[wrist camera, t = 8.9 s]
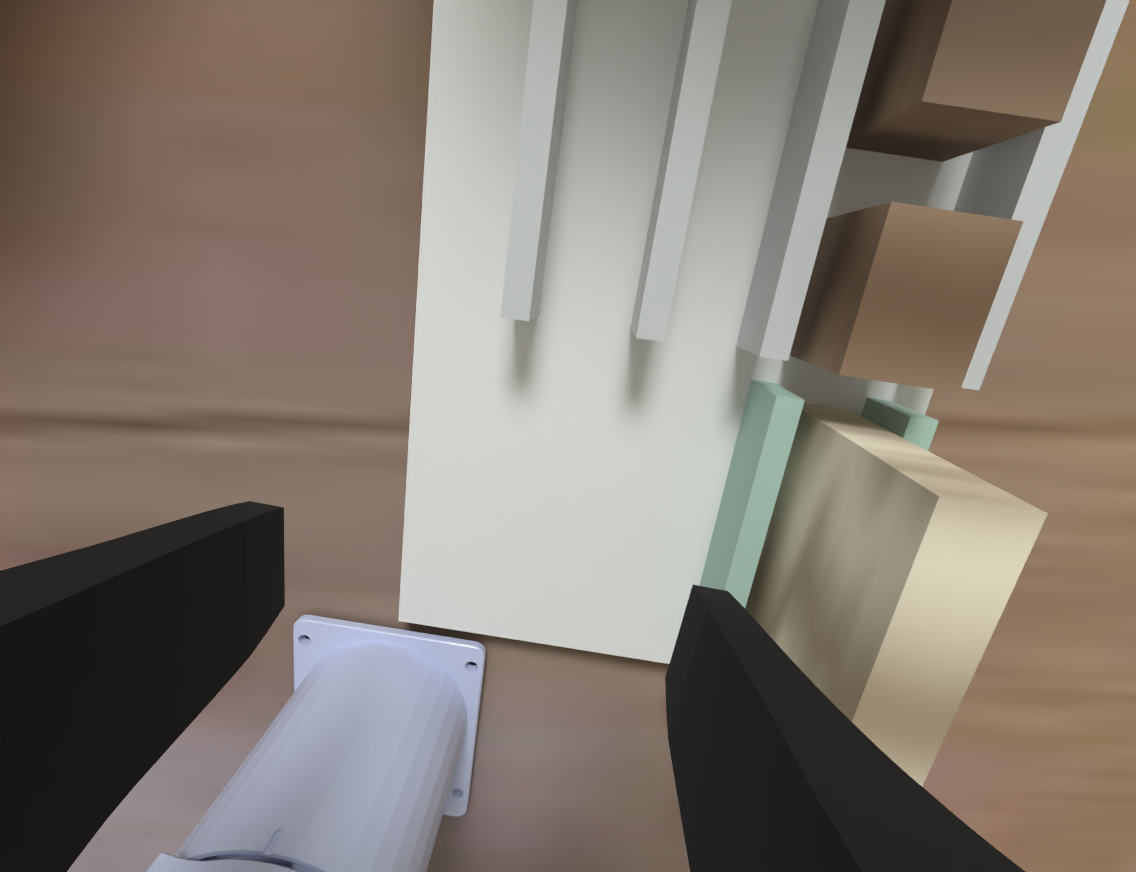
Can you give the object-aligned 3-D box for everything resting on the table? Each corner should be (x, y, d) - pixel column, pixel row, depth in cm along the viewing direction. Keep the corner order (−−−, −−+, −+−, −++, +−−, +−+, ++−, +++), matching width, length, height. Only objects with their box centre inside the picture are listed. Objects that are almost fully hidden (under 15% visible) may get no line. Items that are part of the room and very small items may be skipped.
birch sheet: (769, 657, 20) (874, 889, 12) (717, 649, 20) (791, 876, 12) (847, 409, 17) (1047, 513, 10) (787, 399, 17) (939, 497, 10)
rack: (815, 670, 21) (856, 743, 18) (407, 605, 22) (372, 665, 18) (1062, -40, 14) (1204, -137, 11) (452, -128, 14) (409, -251, 11)
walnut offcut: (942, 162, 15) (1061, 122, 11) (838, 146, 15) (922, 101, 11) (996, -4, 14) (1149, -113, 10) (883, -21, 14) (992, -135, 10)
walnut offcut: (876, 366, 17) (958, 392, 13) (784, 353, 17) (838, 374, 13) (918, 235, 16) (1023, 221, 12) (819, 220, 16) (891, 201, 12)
